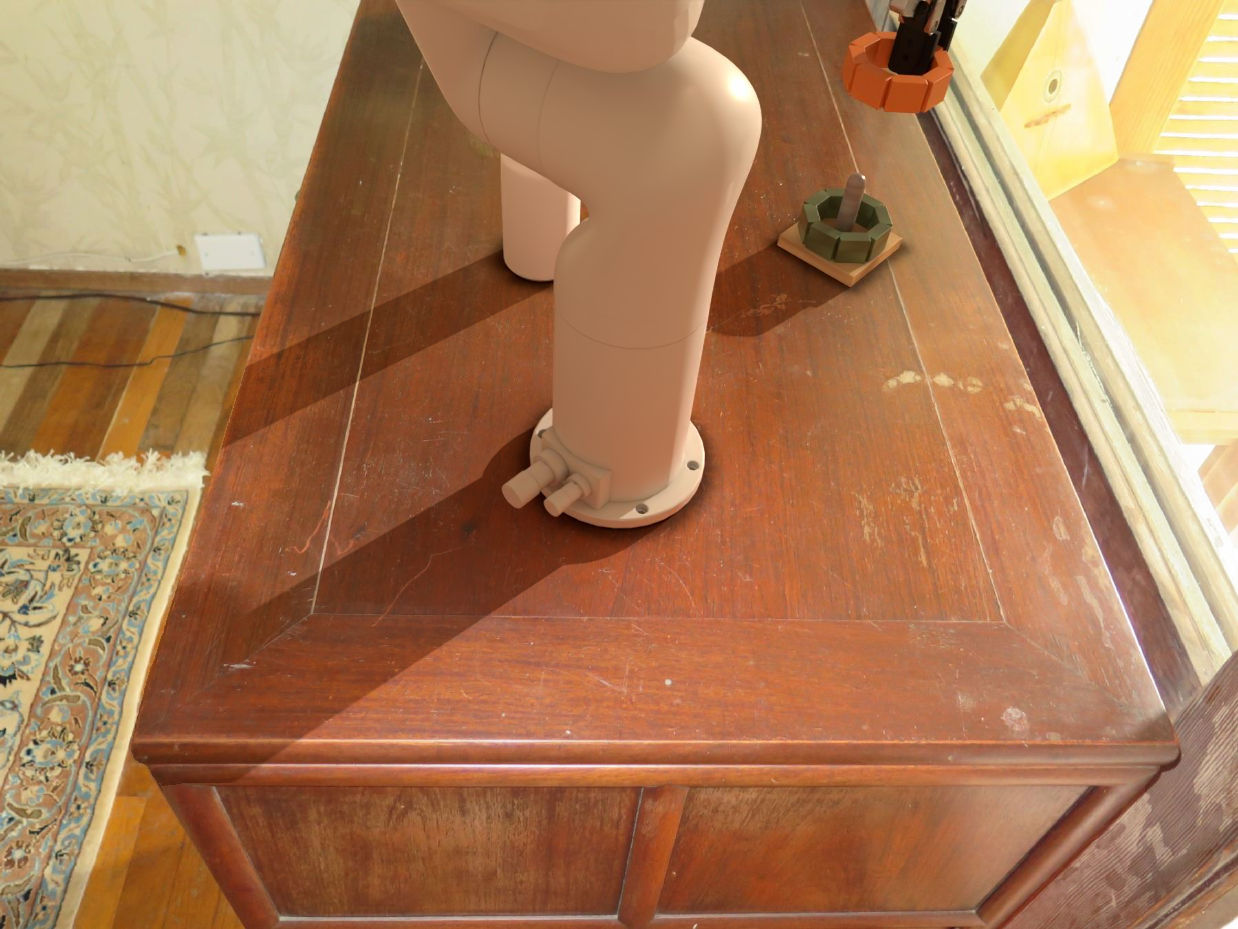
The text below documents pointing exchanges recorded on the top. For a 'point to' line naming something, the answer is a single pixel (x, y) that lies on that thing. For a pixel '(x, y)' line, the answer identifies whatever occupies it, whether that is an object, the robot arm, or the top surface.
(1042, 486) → the top surface
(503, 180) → the can
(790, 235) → the ring stand
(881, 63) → the orange ring
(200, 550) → the top surface
